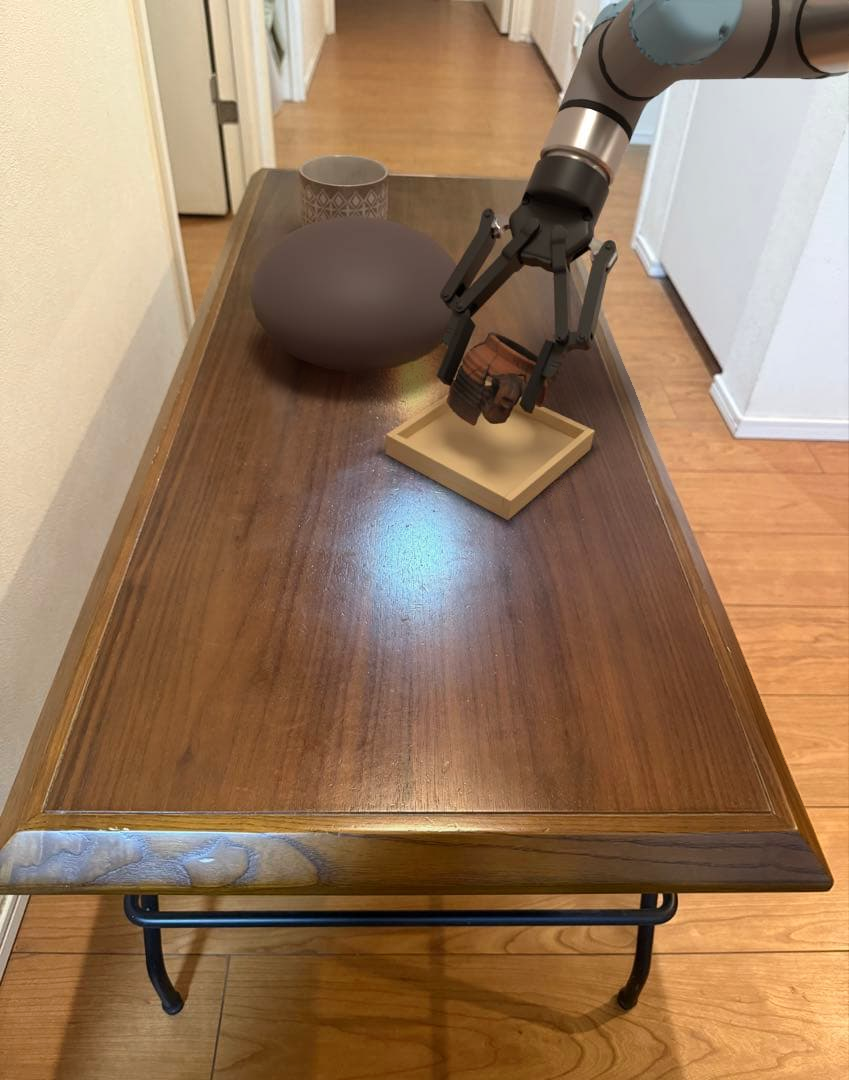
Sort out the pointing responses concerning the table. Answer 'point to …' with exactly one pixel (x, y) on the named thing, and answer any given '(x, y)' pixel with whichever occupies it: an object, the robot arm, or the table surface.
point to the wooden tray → (490, 453)
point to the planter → (342, 188)
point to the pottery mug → (506, 387)
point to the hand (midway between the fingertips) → (483, 394)
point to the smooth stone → (354, 293)
